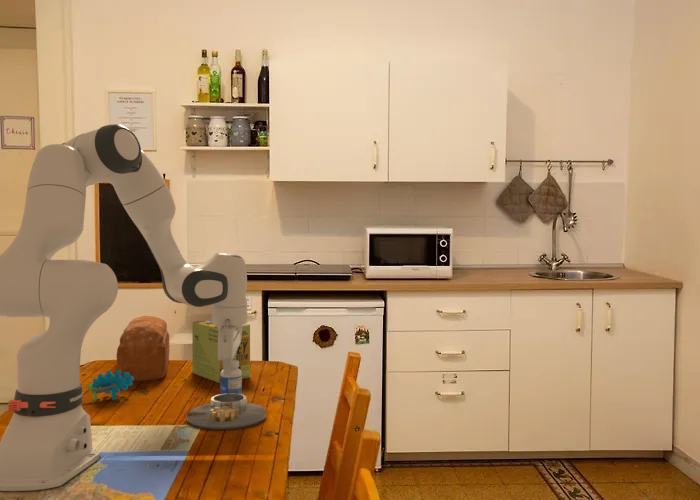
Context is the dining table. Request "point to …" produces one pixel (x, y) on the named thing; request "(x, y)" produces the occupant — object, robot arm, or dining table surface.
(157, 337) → the bread
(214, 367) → the protein box
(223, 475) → the dining table surface
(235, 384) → the pill bottle
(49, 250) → the robot arm
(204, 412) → the carrier plate
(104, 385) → the gear
